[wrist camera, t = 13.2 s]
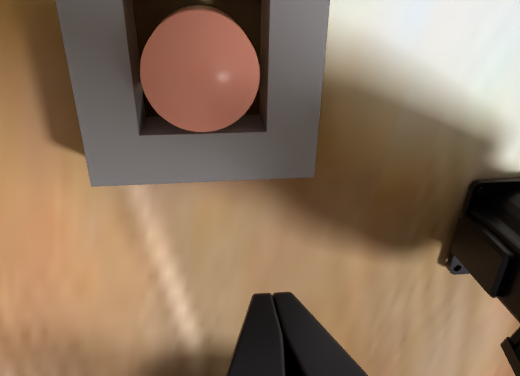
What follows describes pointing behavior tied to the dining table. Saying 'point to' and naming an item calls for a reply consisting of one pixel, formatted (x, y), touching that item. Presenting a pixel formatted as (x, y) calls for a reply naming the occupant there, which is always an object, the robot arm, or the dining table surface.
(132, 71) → the button housing
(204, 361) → the dining table surface
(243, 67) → the button
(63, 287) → the dining table surface
